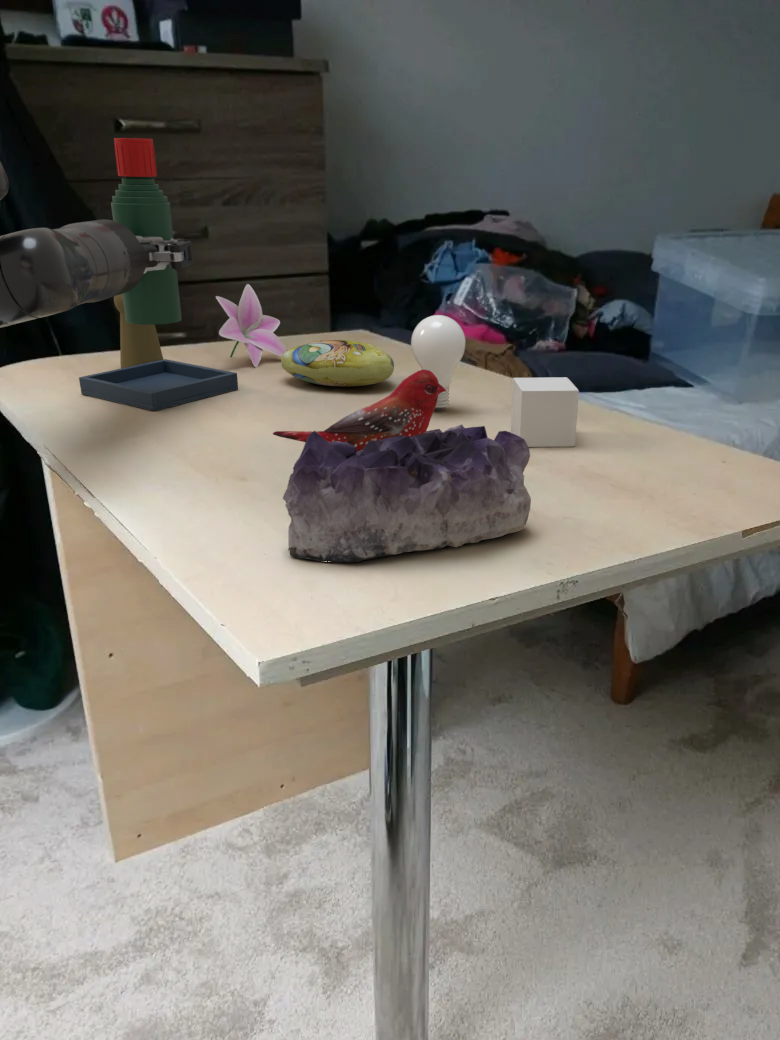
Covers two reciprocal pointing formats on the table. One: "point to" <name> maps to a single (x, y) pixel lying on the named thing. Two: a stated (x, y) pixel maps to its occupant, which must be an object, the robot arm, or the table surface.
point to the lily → (251, 326)
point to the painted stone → (338, 363)
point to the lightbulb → (439, 350)
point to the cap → (135, 157)
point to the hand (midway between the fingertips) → (153, 247)
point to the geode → (405, 493)
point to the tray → (158, 384)
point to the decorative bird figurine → (385, 414)
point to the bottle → (149, 217)
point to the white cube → (545, 411)
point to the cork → (136, 340)
